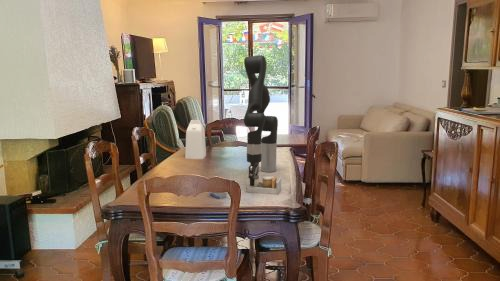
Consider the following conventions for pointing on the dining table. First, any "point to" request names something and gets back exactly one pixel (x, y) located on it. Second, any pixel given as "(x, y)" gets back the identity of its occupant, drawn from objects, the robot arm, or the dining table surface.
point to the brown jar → (267, 182)
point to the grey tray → (266, 190)
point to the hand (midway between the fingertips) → (253, 183)
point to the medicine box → (219, 195)
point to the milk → (195, 141)
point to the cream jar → (255, 181)
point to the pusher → (274, 182)
